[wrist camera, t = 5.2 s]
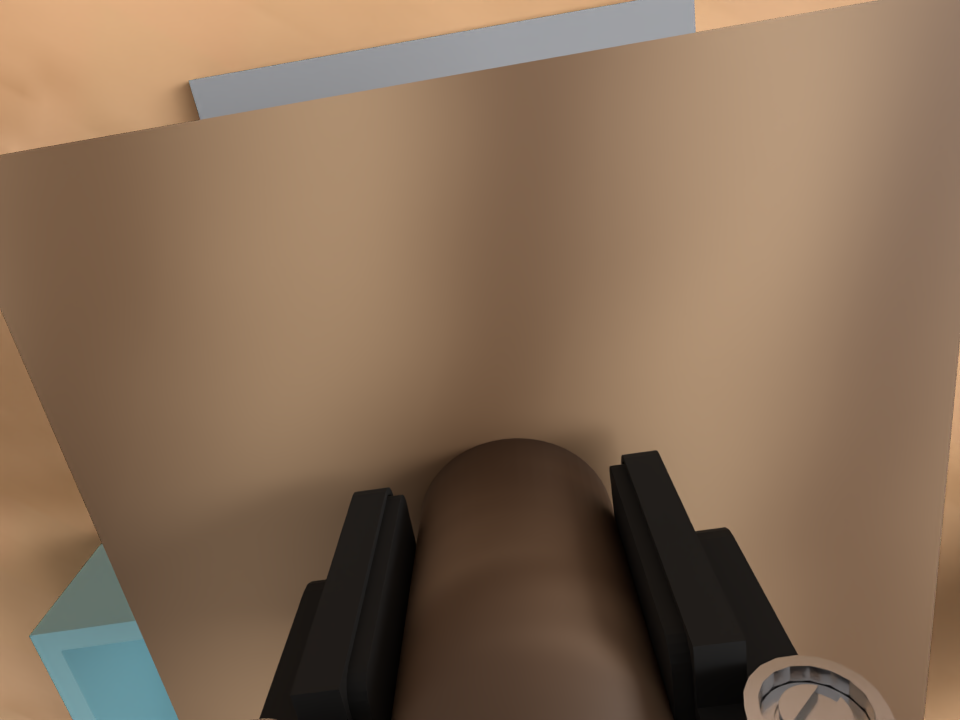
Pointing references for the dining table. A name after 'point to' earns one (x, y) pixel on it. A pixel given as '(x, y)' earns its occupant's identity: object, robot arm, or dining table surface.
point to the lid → (517, 353)
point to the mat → (442, 56)
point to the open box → (100, 651)
